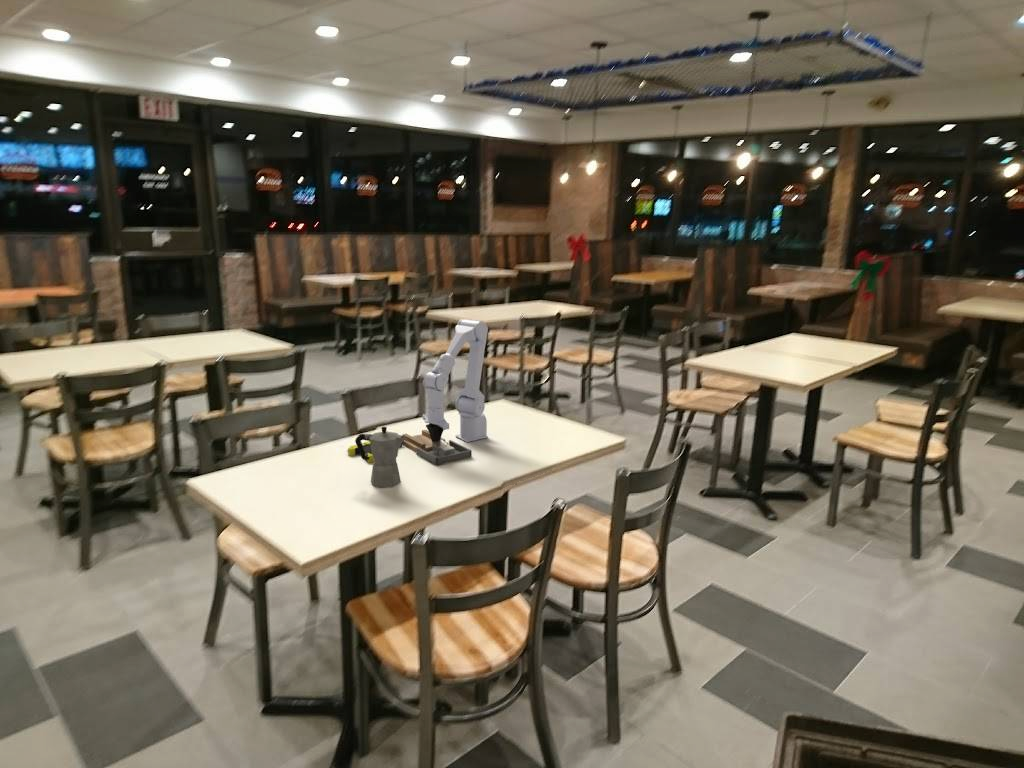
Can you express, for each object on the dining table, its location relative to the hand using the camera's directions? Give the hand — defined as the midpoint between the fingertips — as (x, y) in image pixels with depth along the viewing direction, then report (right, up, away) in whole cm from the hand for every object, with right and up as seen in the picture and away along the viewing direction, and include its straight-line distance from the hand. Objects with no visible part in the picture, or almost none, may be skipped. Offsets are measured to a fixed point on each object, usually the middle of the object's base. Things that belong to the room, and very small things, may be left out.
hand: (435, 444), depth 232 cm
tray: (+3, -4, -3) cm, 6 cm away
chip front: (+4, -4, -5) cm, 7 cm away
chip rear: (+2, -2, -2) cm, 3 cm away
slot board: (-5, -1, +7) cm, 9 cm away
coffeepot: (-13, -10, -27) cm, 32 cm away
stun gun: (-19, -3, -1) cm, 20 cm away
